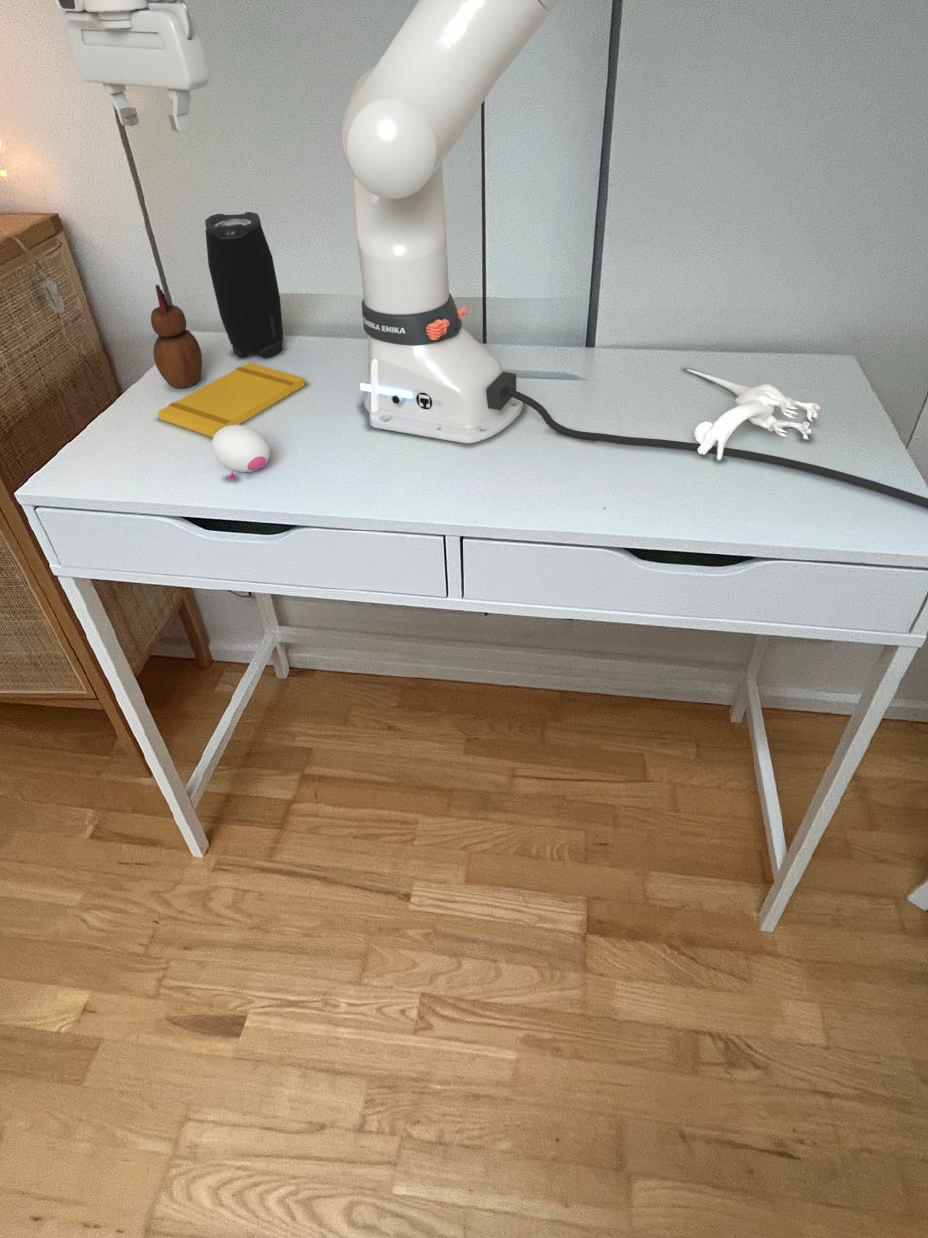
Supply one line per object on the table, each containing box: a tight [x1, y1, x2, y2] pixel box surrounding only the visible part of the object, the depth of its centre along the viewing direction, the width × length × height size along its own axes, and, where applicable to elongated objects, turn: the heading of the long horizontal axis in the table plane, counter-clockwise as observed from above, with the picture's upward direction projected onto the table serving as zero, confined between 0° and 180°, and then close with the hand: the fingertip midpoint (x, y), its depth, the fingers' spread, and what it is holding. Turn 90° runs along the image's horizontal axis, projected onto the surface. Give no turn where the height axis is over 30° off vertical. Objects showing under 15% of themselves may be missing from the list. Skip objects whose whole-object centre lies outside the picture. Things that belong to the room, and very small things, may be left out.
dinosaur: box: [685, 368, 821, 461], centre depth 110 cm, size 25×9×16 cm
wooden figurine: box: [150, 283, 203, 389], centre depth 119 cm, size 7×6×15 cm
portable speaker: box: [204, 211, 284, 359], centre depth 125 cm, size 9×9×20 cm
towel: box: [157, 362, 306, 438], centre depth 118 cm, size 11×18×1 cm, turn 147°
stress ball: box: [211, 424, 271, 481], centre depth 104 cm, size 8×8×7 cm
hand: (155, 127), depth 104 cm, fingers open, 8 cm apart
